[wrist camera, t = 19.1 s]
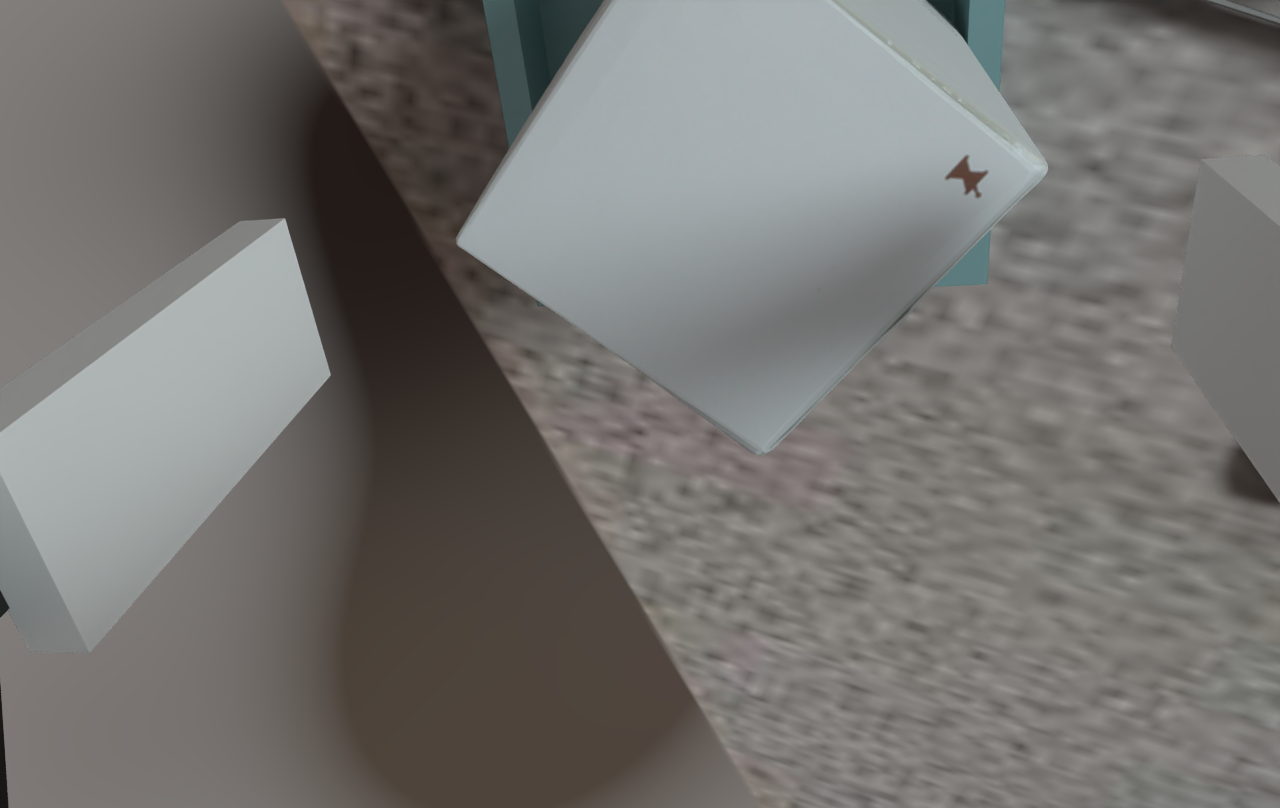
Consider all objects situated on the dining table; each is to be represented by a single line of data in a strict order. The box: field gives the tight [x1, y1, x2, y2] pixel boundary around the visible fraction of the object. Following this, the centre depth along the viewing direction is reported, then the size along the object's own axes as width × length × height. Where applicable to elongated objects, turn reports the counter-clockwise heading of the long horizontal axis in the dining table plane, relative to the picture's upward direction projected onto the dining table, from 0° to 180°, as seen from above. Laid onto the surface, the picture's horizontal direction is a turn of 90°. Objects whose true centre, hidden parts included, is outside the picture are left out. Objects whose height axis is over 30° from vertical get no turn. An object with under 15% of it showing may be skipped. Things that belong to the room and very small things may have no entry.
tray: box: [482, 0, 1005, 306], centre depth 27 cm, size 13×13×3 cm
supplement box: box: [456, 0, 1048, 456], centre depth 22 cm, size 7×7×13 cm
